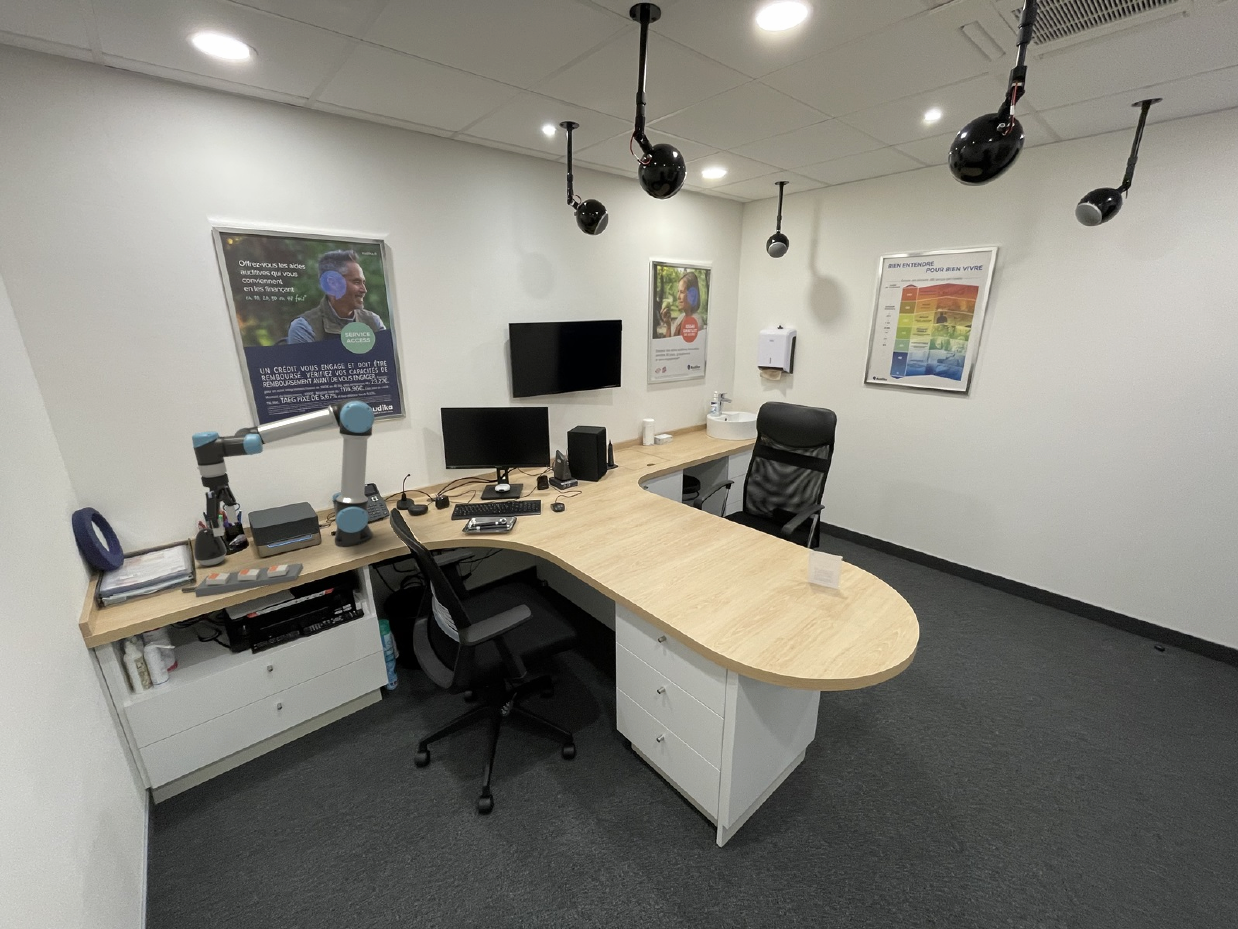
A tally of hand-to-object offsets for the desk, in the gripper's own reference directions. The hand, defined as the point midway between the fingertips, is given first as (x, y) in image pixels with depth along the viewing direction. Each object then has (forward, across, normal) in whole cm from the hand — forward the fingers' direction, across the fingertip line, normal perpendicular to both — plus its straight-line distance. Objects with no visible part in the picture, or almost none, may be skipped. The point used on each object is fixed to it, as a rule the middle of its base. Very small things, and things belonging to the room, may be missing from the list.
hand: (226, 528), depth 183 cm
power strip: (+21, +6, +6) cm, 22 cm away
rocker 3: (+17, +8, +16) cm, 25 cm away
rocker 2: (+17, +8, +6) cm, 20 cm away
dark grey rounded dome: (+21, -20, -14) cm, 32 cm away
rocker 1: (+17, +8, -3) cm, 19 cm away
